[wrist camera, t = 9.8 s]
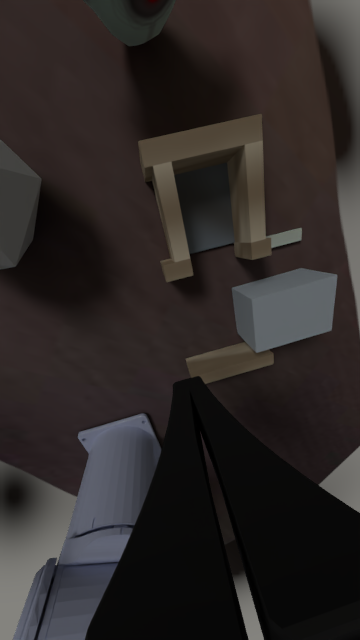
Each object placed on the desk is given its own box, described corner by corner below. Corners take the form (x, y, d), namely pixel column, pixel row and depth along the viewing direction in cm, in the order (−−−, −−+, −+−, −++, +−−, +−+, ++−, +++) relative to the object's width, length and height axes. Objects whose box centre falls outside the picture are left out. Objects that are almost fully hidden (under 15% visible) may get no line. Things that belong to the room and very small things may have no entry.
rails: (295, 335, 21) (297, 336, 21) (257, 346, 21) (258, 347, 20) (299, 228, 16) (301, 227, 16) (250, 240, 16) (252, 240, 16)
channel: (257, 347, 21) (273, 363, 18) (187, 367, 20) (193, 387, 18) (244, 138, 13) (268, 112, 11) (134, 163, 13) (130, 142, 10)
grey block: (298, 314, 20) (331, 330, 17) (236, 332, 20) (256, 353, 16) (299, 267, 18) (337, 274, 15) (230, 287, 18) (251, 299, 14)
